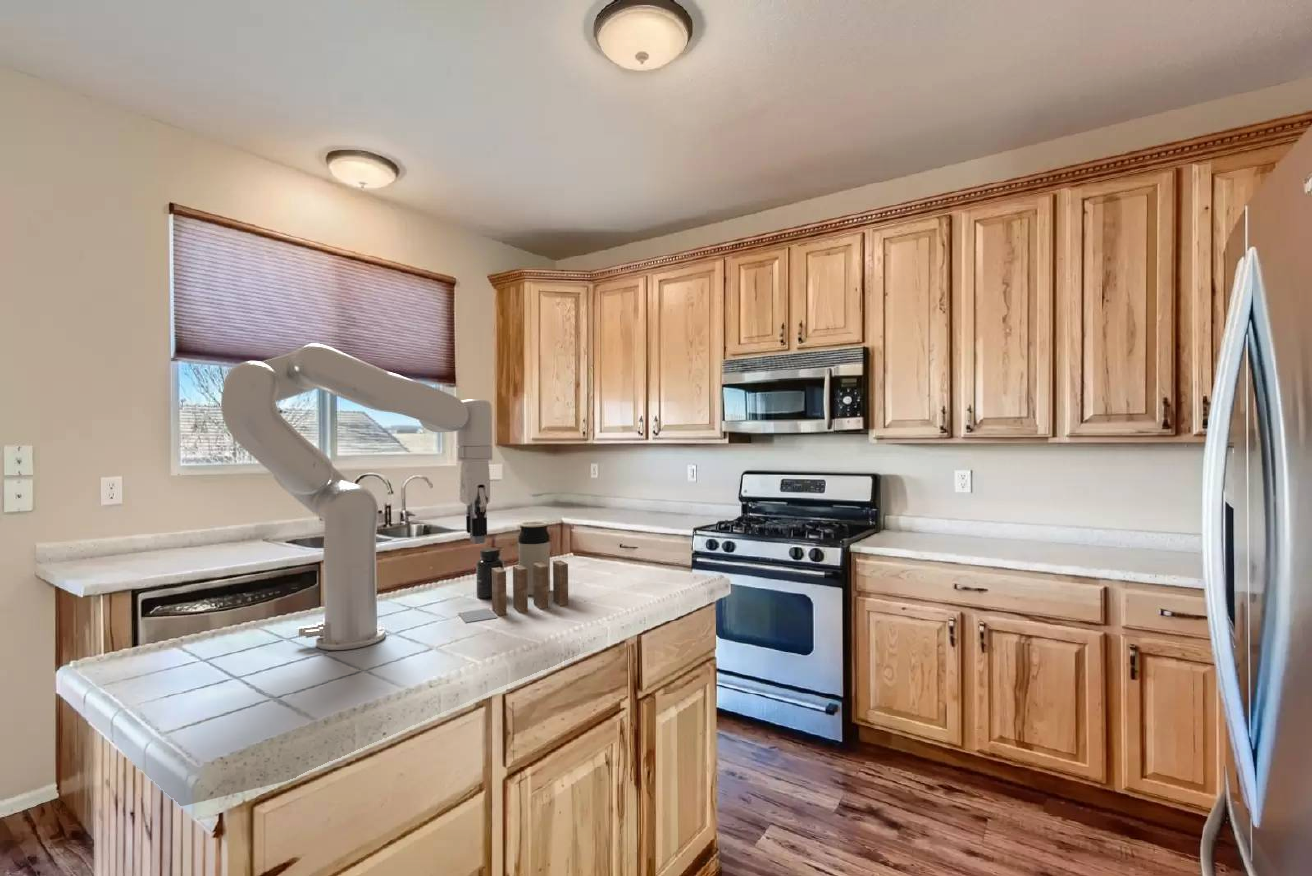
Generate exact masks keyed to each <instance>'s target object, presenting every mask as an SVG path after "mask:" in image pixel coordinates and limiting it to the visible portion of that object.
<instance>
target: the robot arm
mask: <svg viewBox="0 0 1312 876" xmlns="http://www.w3.org/2000/svg"><path fill="white" fill-rule="evenodd" d="M222 386H223V389H222V392H221V393H222V394H221V400H220V407H221V413H222V418H223V421H224V423H225V426H226V428H227V430H228V431H229V434H231V436H232V437H233V439H234V440H235V441H236V442H237V443H238V444H239V445H240V446H241V447H242V448H243V449H244V450H245V451H247V453H249V454H250V455H251V456H252V457H253V458H254V459H255V460H256V461H257V462H258V463H259V464H261V465H262V466H263V467H264V468H265V469H266V470H268V471H269V472H270V473H271V474H272V475H273V477H274V479H275V481H276V483H277V484H278V485H279V486H280V487H281V488H282V489H283V490H285V491H286V492H287V493H288V494H289V495H290V496H292V497H293V498H294V499H295V500H296V501H298V503H301V505H303V506H304V507H305V508H306V509H308V510H309V511H310V512H311V513H312V514H314V515H315V516H316V517H318V518H319V519H320V520H321V521H322V522H324V532H323V533H324V536H323V589H324V591H323V592H324V595H323V601H324V602H323V603H324V617H322V621H320V622H316V624H315V625H314V624H312V625H301V626H299V627H298V637H299V638H300V637H305V638H306V639H307V638H314V637H317V638H315V639H316V640H315V644H316V646H317V647H318V648H319V649H322V650H329V651H343V650H344V651H346V650H352V649H357V648H363V647H367V646H370V645H374V644H376V643H378V642H380V641H381V640H384V638H385V637H386V628H384V627H382V626H380V625H378V602H377V601H378V597H377V596H378V595H377V594H378V593H377V589H378V588H377V587H378V586H377V532H378V523H379V505H378V502H377V499H376V497H375V496H374V494H373V493H372V491H370V489H368V488H367V487H365V486H363V485H362V484H357V483H354V482H353V483H352V482H351V481H350V480H349V479H348V478H347V477H346V476H345V475H343V474H342V473H341V472H340V471H339V470H338V469H337V468H335V467H334V466H333V463H332V462H331V459H330V458H329V456H328V455H327V454H325V452H323V451H322V450H320V449H319V448H318V447H316V446H315V445H314V444H313V443H311V441H309V440H308V439H307V438H305V437H304V436H303V435H302V434H301V433H300V432H298V431H297V429H296V428H294V426H292V424H290V423H289V422H288V421H287V420H286V419H285V418H284V416H282V414H281V413H280V411H279V409H278V407H277V402H281V401H283V400H286V399H287V400H288V399H290V398H293V397H296V396H300V395H303V394H305V393H307V392H311V391H314V390H320V391H322V392H325V393H327V394H330V395H334V396H335V397H338V398H341V399H343V400H346V401H349V402H350V403H351V402H352V403H354V404H356V405H359V406H361V407H364V408H367V409H371V410H375V411H378V412H386V413H392V414H398V415H402V416H405V417H407V418H408V417H409V418H412V419H415V420H418V421H419V423H420V424H421V426H422V427H423V428H424V429H426V430H428V431H429V432H433V433H453V432H454V433H455V432H457V458H458V459H457V460H458V461H459V462H461V463H460V476H459V477H460V479H459V501H460V502H461V503H462V504H463V505H466V511H465V512H466V513H465V514H466V516H465V518H466V519H465V520H466V522H465V523H466V525H465V527H466V533H468V534H470V505H471V503H472V507H473V518H472V536H474V537H476V536H484V537H486V536H487V535H488V517H487V516H488V513H487V512H488V511H487V505H488V504H490V502H491V481H490V480H491V478H490V476H491V475H490V463H489V461H493V459H494V458H493V415H492V414H493V407H492V403H491V402H490V401H488V400H486V399H463V400H461V399H460V398H458V397H456V396H455V395H452V394H450V393H448V392H445V391H443V390H440V389H438V388H436V387H434V386H431V385H428V384H427V383H423V382H420V381H416V380H415V379H411V378H408V377H405V376H402V375H400V374H398V373H394V372H390V371H388V370H386V369H382V368H380V367H377V366H376V365H373V364H370V363H368V362H366V361H363V360H361V359H359V358H356V357H354V356H352V355H350V354H347V353H344V352H342V351H340V350H338V349H335V348H333V347H330V346H328V345H325V344H320V343H310V344H306V345H304V346H302V347H300V348H299V349H297V350H294V351H292V352H290V353H286V354H283V355H279V356H276V357H273V358H269V359H265V360H261V361H259V360H258V361H257V360H248V361H247V360H246V361H243V362H239V363H237V364H236V365H234V367H232V368H231V369H230V370H229V371H228V373H227V374H226V375H225V378H224V381H223V385H222ZM475 502H479V504H475ZM476 507H478V508H477V512H476Z"/></svg>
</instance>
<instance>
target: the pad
mask: <svg viewBox="0 0 1312 876" xmlns="http://www.w3.org/2000/svg"><path fill="white" fill-rule="evenodd" d="M457 614H458V616H459V617H460V618H461V620H463V622H464V623H465V624H468V623H473V622H475V623H476V622H480V621H487V620H494V619H498V616H497V615H496V614H495V613H494V612H493V611H492V610H491V609H490V608H485V609H484V608H483V609H477V610H476V609H475V610H470V611H463V612H458V613H457Z"/></svg>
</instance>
